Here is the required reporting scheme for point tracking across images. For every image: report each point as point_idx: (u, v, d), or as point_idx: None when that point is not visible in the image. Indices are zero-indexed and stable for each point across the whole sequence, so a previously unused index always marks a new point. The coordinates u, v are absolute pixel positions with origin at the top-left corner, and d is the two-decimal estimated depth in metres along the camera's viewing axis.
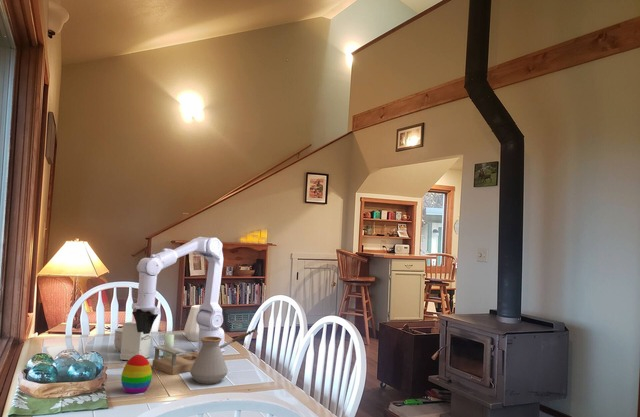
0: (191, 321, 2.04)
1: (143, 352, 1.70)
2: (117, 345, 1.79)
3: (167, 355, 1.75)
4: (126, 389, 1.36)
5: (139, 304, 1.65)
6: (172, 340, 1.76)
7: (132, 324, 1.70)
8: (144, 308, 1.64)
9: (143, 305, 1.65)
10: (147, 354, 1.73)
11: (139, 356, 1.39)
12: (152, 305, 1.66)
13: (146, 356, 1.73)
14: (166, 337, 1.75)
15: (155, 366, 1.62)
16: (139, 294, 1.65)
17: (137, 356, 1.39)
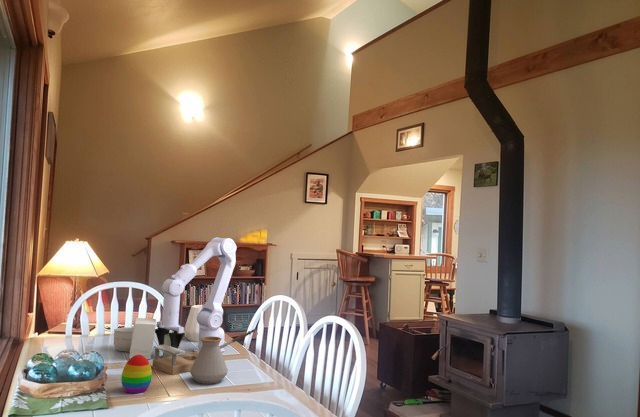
0: (191, 321, 2.04)
1: None
2: (117, 345, 1.79)
3: (167, 355, 1.75)
4: (126, 389, 1.36)
5: (164, 323, 1.75)
6: None
7: (145, 324, 1.71)
8: (169, 327, 1.73)
9: (168, 324, 1.74)
10: None
11: (139, 356, 1.39)
12: (176, 324, 1.76)
13: None
14: (166, 337, 1.75)
15: (155, 366, 1.62)
16: (164, 314, 1.75)
17: (137, 356, 1.39)
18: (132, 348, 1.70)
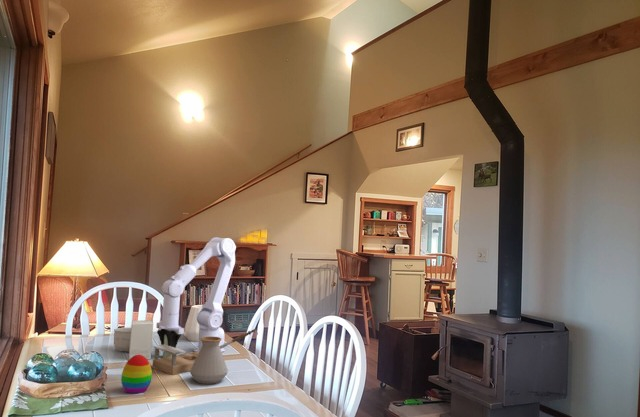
0: (191, 321, 2.04)
1: None
2: (117, 344, 1.79)
3: (167, 355, 1.75)
4: (126, 389, 1.36)
5: (164, 324, 1.75)
6: None
7: (142, 324, 1.72)
8: (169, 328, 1.73)
9: (168, 325, 1.74)
10: None
11: (139, 356, 1.39)
12: (176, 325, 1.76)
13: None
14: (166, 337, 1.75)
15: (155, 366, 1.62)
16: (164, 315, 1.75)
17: (137, 356, 1.39)
18: (131, 349, 1.70)
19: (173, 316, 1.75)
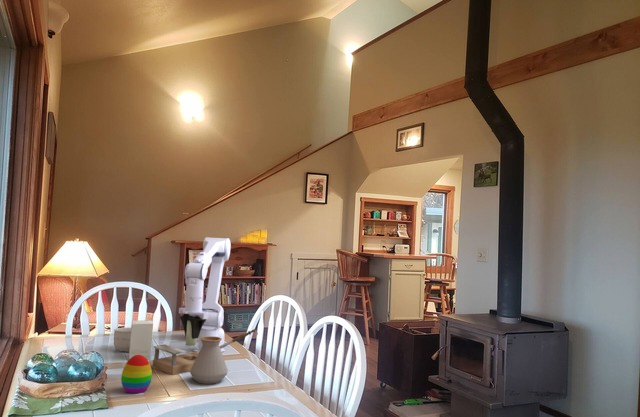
0: None
1: None
2: (117, 345, 1.79)
3: (191, 343, 1.66)
4: (126, 389, 1.36)
5: (187, 309, 1.66)
6: None
7: (142, 324, 1.72)
8: (193, 313, 1.65)
9: (191, 310, 1.66)
10: None
11: (139, 356, 1.39)
12: (200, 310, 1.68)
13: None
14: (189, 323, 1.67)
15: (155, 366, 1.62)
16: (187, 299, 1.67)
17: (137, 356, 1.39)
18: (131, 349, 1.70)
19: (197, 300, 1.67)
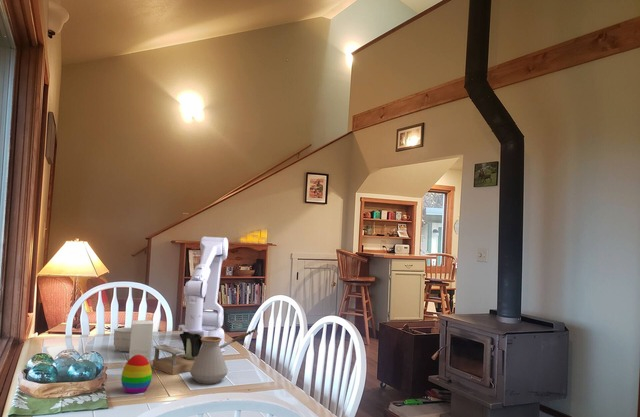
0: None
1: None
2: (117, 345, 1.79)
3: None
4: (126, 389, 1.36)
5: (187, 327, 1.66)
6: None
7: (142, 324, 1.72)
8: (192, 331, 1.65)
9: (191, 328, 1.65)
10: None
11: (139, 356, 1.39)
12: (200, 328, 1.67)
13: None
14: (189, 341, 1.66)
15: (155, 366, 1.62)
16: (187, 317, 1.66)
17: (137, 356, 1.39)
18: (131, 349, 1.70)
19: (197, 318, 1.66)
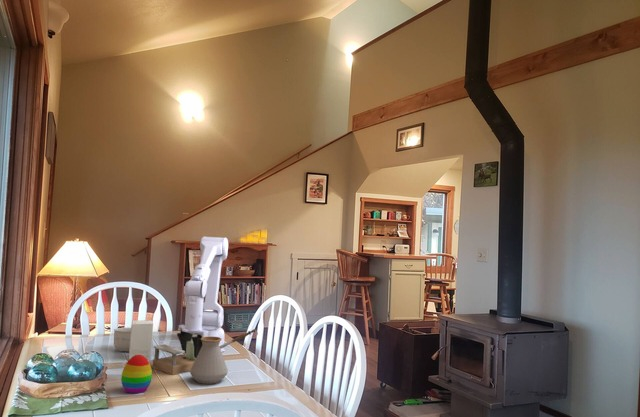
0: None
1: None
2: (117, 345, 1.79)
3: None
4: (126, 389, 1.36)
5: (187, 327, 1.66)
6: None
7: (142, 324, 1.72)
8: (192, 331, 1.64)
9: (191, 328, 1.65)
10: None
11: (139, 356, 1.39)
12: (200, 328, 1.67)
13: None
14: (189, 344, 1.66)
15: (155, 366, 1.62)
16: (187, 317, 1.66)
17: (137, 356, 1.39)
18: (131, 349, 1.70)
19: (197, 318, 1.66)
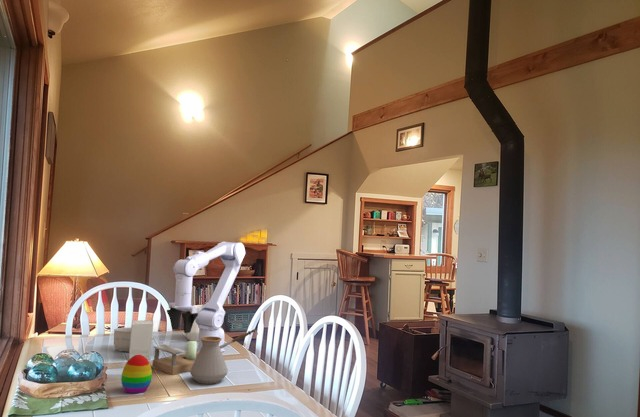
0: None
1: None
2: (117, 345, 1.79)
3: None
4: (126, 389, 1.36)
5: (177, 304, 1.74)
6: (195, 347, 1.67)
7: (142, 324, 1.72)
8: (182, 307, 1.73)
9: (181, 305, 1.73)
10: None
11: (139, 356, 1.39)
12: (189, 304, 1.75)
13: None
14: (189, 344, 1.66)
15: (155, 366, 1.62)
16: (177, 294, 1.74)
17: (137, 356, 1.39)
18: (131, 349, 1.70)
19: (186, 295, 1.74)
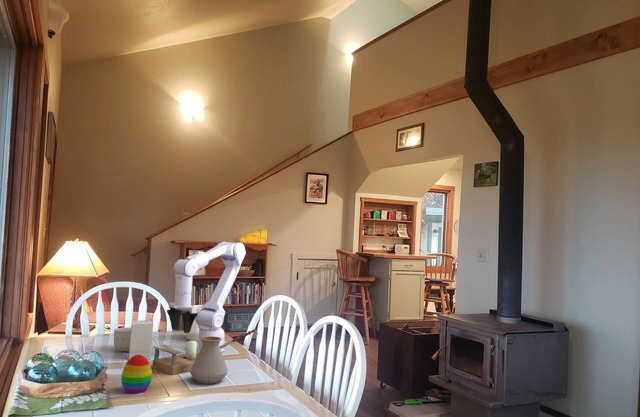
0: None
1: None
2: (117, 345, 1.79)
3: None
4: (126, 389, 1.36)
5: (177, 304, 1.74)
6: (195, 347, 1.67)
7: (142, 324, 1.72)
8: (181, 307, 1.73)
9: (180, 304, 1.74)
10: None
11: (139, 356, 1.39)
12: (189, 304, 1.75)
13: None
14: (188, 344, 1.66)
15: (155, 366, 1.62)
16: (176, 294, 1.74)
17: (137, 356, 1.39)
18: (131, 349, 1.70)
19: (186, 295, 1.74)
